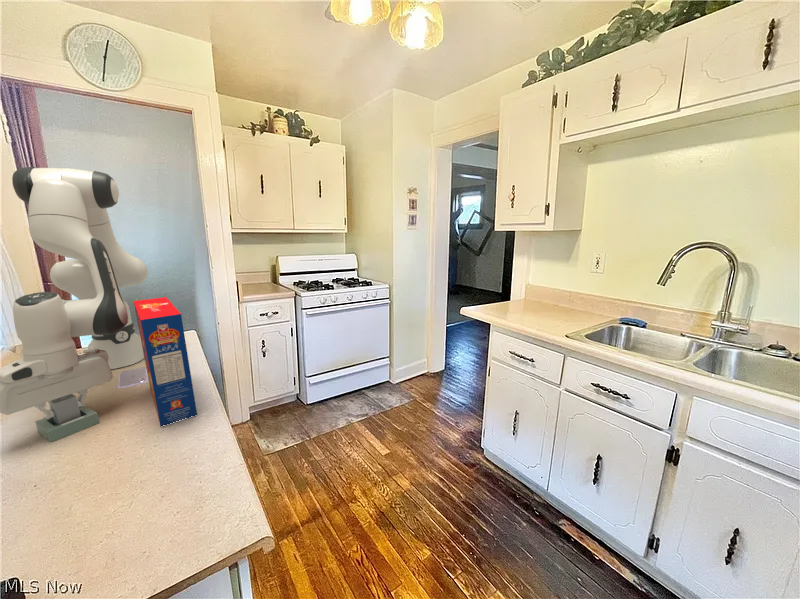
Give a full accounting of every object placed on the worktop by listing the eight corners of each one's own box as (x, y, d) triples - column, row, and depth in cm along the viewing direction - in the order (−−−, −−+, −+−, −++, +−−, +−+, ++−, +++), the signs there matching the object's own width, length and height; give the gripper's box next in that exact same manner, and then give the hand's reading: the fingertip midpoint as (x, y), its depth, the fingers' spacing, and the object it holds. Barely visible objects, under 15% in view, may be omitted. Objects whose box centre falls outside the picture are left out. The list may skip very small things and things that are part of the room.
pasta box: (150, 388, 105) (133, 301, 99) (180, 380, 110) (166, 297, 104) (160, 427, 84) (140, 320, 78) (197, 415, 89) (181, 313, 83)
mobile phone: (146, 365, 120) (147, 380, 109) (146, 368, 120) (148, 382, 109) (119, 371, 116) (117, 387, 104) (119, 374, 116) (118, 390, 104)
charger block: (53, 421, 83) (47, 399, 82) (75, 414, 87) (69, 392, 85) (60, 426, 81) (54, 403, 80) (81, 418, 85) (76, 395, 83)
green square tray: (37, 431, 83) (35, 420, 82) (84, 413, 90) (82, 404, 90) (51, 442, 78) (48, 431, 78) (99, 422, 86) (97, 412, 85)
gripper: (100, 344, 91) (110, 391, 94) (-16, 373, 74) (1, 429, 76) (111, 348, 88) (121, 396, 91) (-8, 379, 70) (10, 438, 73)
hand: (65, 412), depth 84 cm, fingers closed on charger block, 4 cm apart
